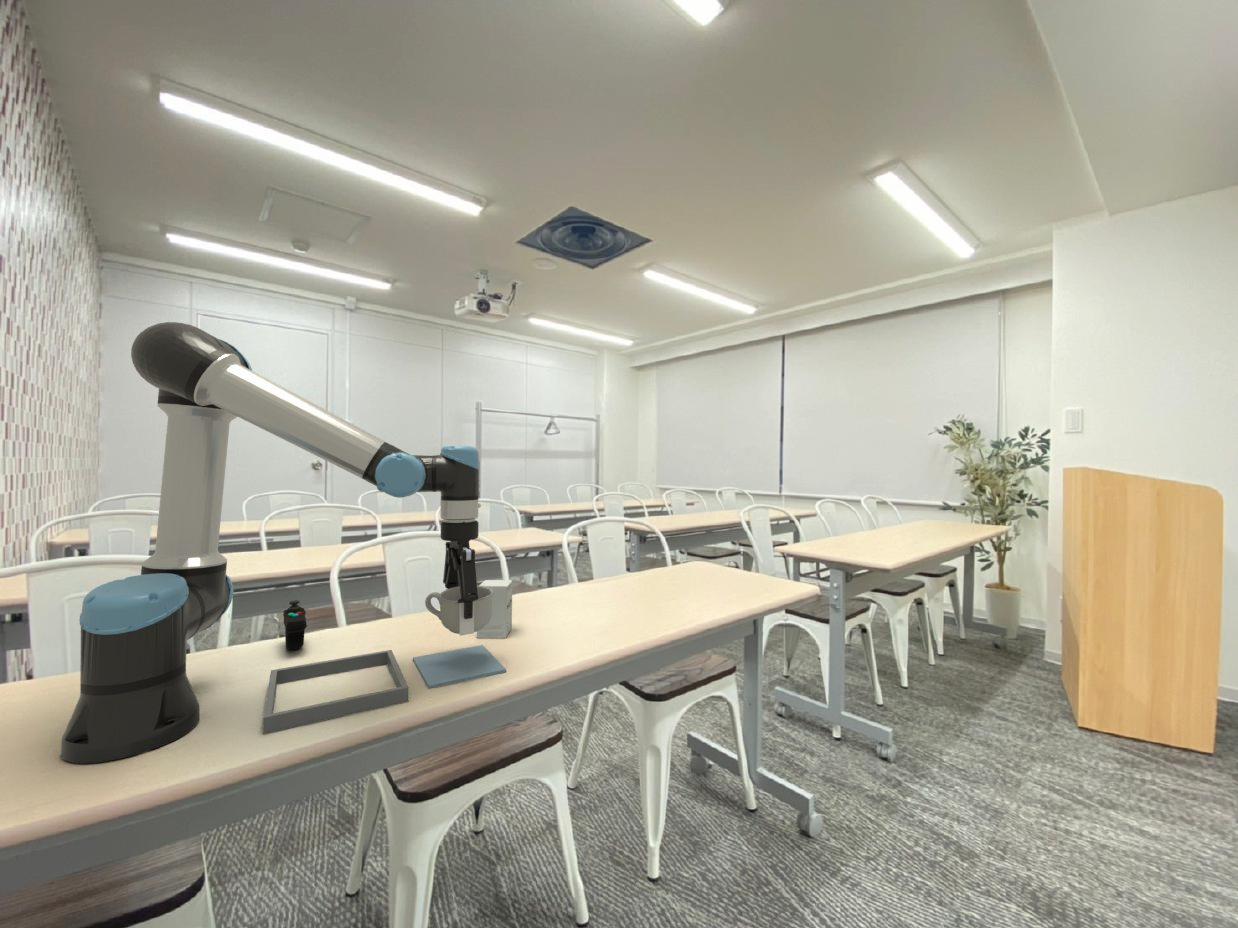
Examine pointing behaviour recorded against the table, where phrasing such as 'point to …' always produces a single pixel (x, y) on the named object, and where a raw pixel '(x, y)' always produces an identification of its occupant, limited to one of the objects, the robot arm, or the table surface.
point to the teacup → (451, 607)
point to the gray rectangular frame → (335, 707)
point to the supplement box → (498, 610)
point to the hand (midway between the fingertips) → (459, 626)
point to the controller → (294, 625)
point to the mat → (457, 666)
